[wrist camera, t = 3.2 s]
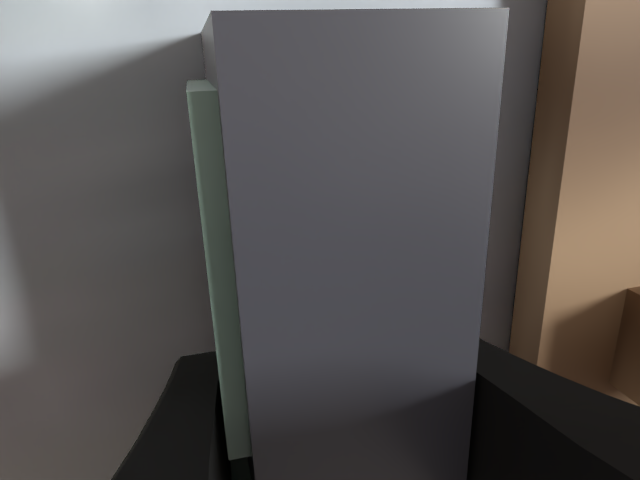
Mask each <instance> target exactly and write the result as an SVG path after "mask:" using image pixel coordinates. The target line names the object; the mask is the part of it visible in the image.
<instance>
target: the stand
mask: <svg viewBox="0 0 640 480" xmlns="http://www.w3.org/2000/svg"><path fill="white" fill-rule="evenodd" d="M509 353H511V354H513V355H515V356H517V357H519V358H521V359H524V360H526V361H528V362H530V363H532V364H535V365H537V366H539V367H541V368H544V369H546V370H548V371H550V372H553V373H555V374H557V375H559V376H562V377H564V378H567V379H569V380H572V381H574V382H577V383H579V384H581V385H584V386H586V387H589V388H591V389H594V390H596V391H599V392H601V393H604V394H606V395H609V396H612V397H614V398H617V399H620V400H622V401H625V402H628V403H631V404H634V405H637V406H640V0H548V2H547V11H546V20H545V29H544V38H543V47H542V56H541V65H540V75H539V84H538V93H537V102H536V111H535V120H534V129H533V138H532V147H531V156H530V165H529V174H528V183H527V192H526V202H525V211H524V220H523V229H522V238H521V247H520V256H519V265H518V274H517V283H516V292H515V301H514V310H513V319H512V329H511V338H510V347H509Z"/></svg>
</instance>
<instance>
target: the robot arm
mask: <svg viewBox="0 0 640 480" xmlns="http://www.w3.org/2000/svg"><path fill="white" fill-rule="evenodd" d="M111 480H232V479H231V464H230V460H229V459H228V451H227V442H226V433H225V425H224V416H223V407H222V399H221V390H220V381H219V373H218V364H217V355H216V351H214V352H208V353H202V354H195V355H189V356H182V357H181V358H180V359H179V360H178V361H177V362H176V363H175V366H174V369H173V371H172V374H171V376H170V378H169V380H168V383H167V385H166V387H165V389H164V391H163V393H162V395H161V397H160V399H159V401H158V403H157V405H156V407H155V409H154V410H153V412H152V414H151V416H150V417H149V419H148V421H147V423H146V425H145V426H144V428H143V430H142V432H141V433H140V435H139V437H138V439H137V440H136V442H135V444H134V445H133V447H132V449H131V450H130V452H129V453H128V455H127V456H126V458H125V459H124V461H123V462H122V464H121V465H120V467H119V468H118V470H117V472H116V473H115V475H114V476H113V478H112V479H111ZM467 480H640V406H637V405H634V404H631V403H628V402H625V401H622V400H620V399H617V398H614V397H612V396H609V395H606V394H604V393H601V392H599V391H596V390H594V389H591V388H589V387H586V386H584V385H581V384H579V383H577V382H574V381H572V380H569V379H567V378H564V377H562V376H559V375H557V374H555V373H553V372H550V371H548V370H546V369H544V368H541V367H539V366H537V365H535V364H532V363H530V362H528V361H526V360H524V359H521V358H519V357H517V356H515V355H513V354H511V353H508V352H506V351H504V350H502V349H500V348H498V347H496V346H494V345H492V344H489V343H487V342H485V341H483V340H481V339H479V348H478V359H477V370H476V381H475V392H474V403H473V414H472V425H471V436H470V447H469V458H468V469H467Z"/></svg>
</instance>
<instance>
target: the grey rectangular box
mask: <svg viewBox="0 0 640 480" xmlns="http://www.w3.org/2000/svg"><path fill="white" fill-rule="evenodd" d="M508 19H509V8H433V9H339V10H244V11H211V12H210V14H209V16H208V19H207V21H206V23H205V25H204V27H203V30H202V32H201V37H202V47H203V57H204V67H205V77H206V80H187V87H186V95H187V103H188V112H189V121H190V129H191V138H192V147H193V155H194V164H195V173H196V181H197V190H198V199H199V208H200V216H201V225H202V234H203V242H204V251H205V260H206V268H207V277H208V286H209V294H210V303H211V312H212V320H213V329H214V338H215V346H216V355H217V364H218V373H219V381H220V390H221V399H222V407H223V416H224V425H225V433H226V442H227V451H228V459H229V460H230V464H231V479H232V480H467V469H468V458H469V447H470V436H471V425H472V414H473V403H474V392H475V381H476V370H477V359H478V348H479V337H480V326H481V315H482V304H483V293H484V282H485V271H486V260H487V249H488V238H489V227H490V216H491V205H492V194H493V183H494V173H495V162H496V151H497V140H498V129H499V118H500V107H501V96H502V85H503V74H504V63H505V52H506V41H507V30H508Z"/></svg>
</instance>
